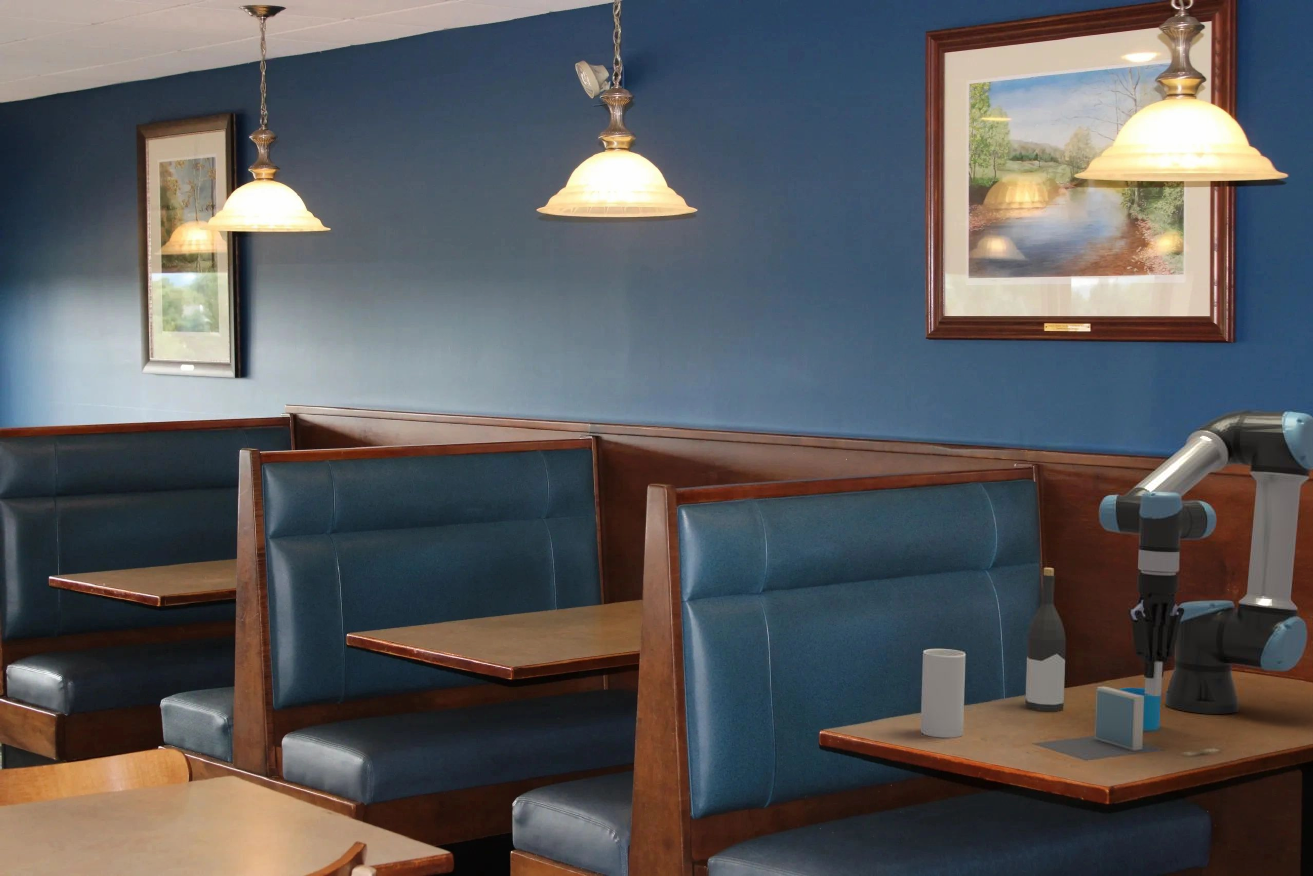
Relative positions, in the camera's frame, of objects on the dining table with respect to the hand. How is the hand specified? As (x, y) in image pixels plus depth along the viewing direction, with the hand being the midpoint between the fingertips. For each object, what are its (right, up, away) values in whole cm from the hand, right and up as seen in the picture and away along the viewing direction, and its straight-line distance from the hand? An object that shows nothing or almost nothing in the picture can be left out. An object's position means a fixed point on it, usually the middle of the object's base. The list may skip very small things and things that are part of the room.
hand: (1152, 694), depth 301 cm
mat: (-12, -10, -6) cm, 17 cm away
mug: (0, -10, +14) cm, 17 cm away
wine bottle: (-13, -9, +34) cm, 37 cm away
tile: (-8, -9, -4) cm, 12 cm away
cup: (-39, -9, +8) cm, 41 cm away
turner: (+2, -11, -12) cm, 16 cm away
